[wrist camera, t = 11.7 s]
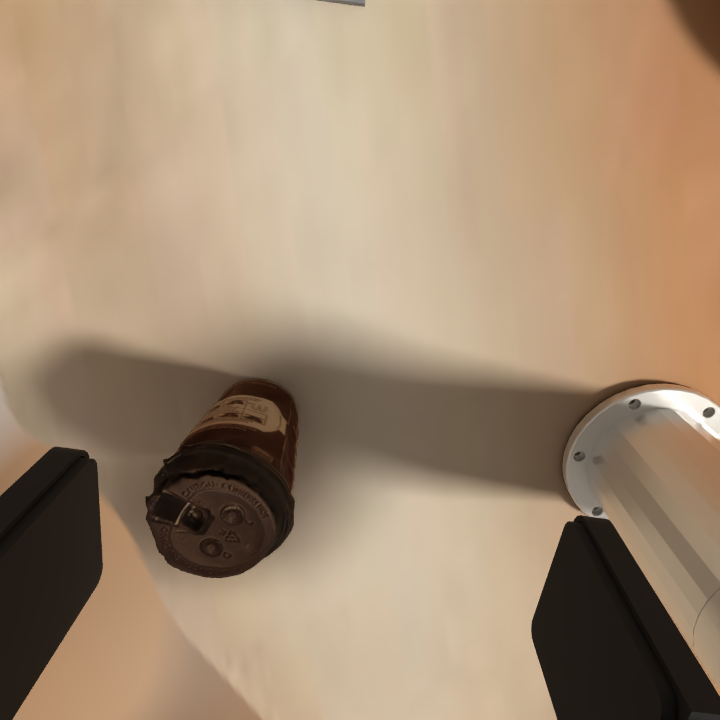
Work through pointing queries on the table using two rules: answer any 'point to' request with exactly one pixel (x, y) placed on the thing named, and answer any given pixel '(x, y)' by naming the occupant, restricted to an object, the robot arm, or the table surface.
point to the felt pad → (348, 2)
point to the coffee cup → (229, 484)
